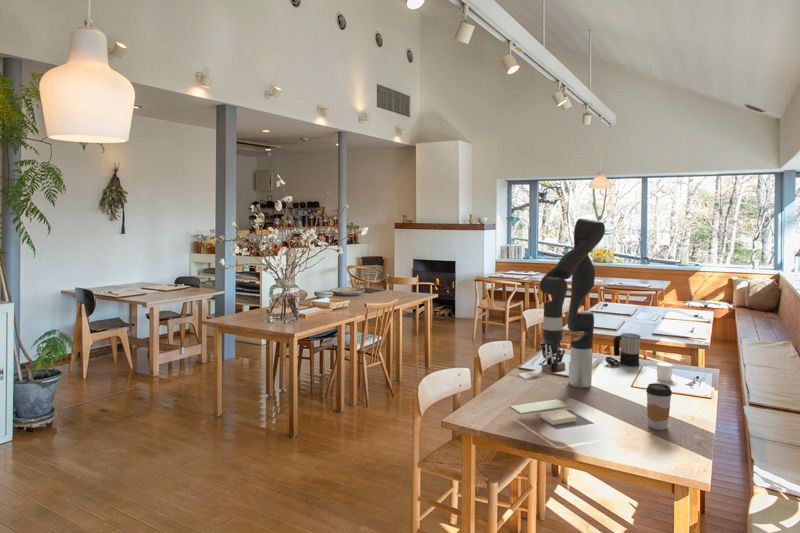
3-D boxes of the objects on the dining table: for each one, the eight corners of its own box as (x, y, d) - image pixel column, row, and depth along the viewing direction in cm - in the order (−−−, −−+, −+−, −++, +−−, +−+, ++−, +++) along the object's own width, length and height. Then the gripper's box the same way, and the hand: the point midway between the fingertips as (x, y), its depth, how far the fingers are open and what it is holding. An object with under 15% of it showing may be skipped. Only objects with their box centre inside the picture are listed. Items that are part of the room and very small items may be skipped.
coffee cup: (673, 426, 207) (675, 386, 205) (665, 433, 201) (667, 391, 199) (649, 420, 213) (651, 381, 211) (641, 427, 207) (642, 386, 205)
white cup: (675, 381, 259) (675, 366, 259) (659, 381, 259) (660, 366, 259) (668, 376, 266) (669, 361, 265) (653, 376, 266) (654, 361, 266)
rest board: (510, 408, 227) (510, 405, 227) (557, 401, 234) (557, 399, 234) (520, 415, 219) (520, 412, 219) (569, 408, 226) (569, 405, 226)
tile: (563, 414, 218) (540, 417, 215) (563, 409, 218) (540, 412, 215) (576, 421, 211) (552, 425, 208) (576, 416, 211) (552, 419, 207)
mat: (533, 416, 218) (533, 414, 218) (569, 410, 223) (569, 409, 223) (556, 430, 204) (556, 429, 204) (594, 424, 209) (594, 423, 209)
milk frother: (642, 363, 288) (643, 334, 286) (631, 370, 276) (632, 340, 274) (614, 359, 297) (615, 330, 295) (602, 365, 285) (602, 336, 284)
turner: (558, 367, 231) (558, 360, 231) (567, 371, 225) (567, 364, 225) (517, 376, 225) (517, 368, 225) (525, 380, 219) (525, 372, 219)
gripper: (571, 330, 219) (570, 374, 221) (550, 323, 232) (549, 365, 234) (554, 332, 217) (554, 376, 219) (534, 325, 230) (533, 367, 232)
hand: (551, 370), depth 227 cm, fingers closed on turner, 2 cm apart
